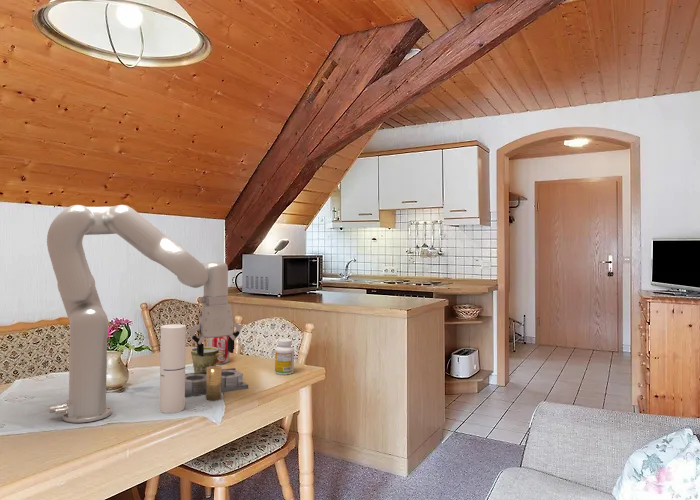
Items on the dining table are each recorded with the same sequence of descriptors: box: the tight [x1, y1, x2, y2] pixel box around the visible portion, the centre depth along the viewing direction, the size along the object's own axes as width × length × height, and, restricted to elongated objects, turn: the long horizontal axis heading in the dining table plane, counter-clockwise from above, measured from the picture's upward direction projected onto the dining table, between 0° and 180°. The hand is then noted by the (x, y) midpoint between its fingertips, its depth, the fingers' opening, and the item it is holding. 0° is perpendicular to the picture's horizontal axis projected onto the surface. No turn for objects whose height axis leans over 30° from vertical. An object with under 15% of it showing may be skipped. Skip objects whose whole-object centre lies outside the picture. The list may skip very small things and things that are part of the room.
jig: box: [185, 367, 249, 398], centre depth 175 cm, size 22×13×4 cm, turn 124°
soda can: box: [211, 336, 230, 365], centre depth 211 cm, size 7×7×12 cm
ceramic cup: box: [190, 346, 225, 373], centre depth 190 cm, size 13×10×10 cm
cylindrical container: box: [158, 323, 187, 414], centre depth 152 cm, size 7×7×25 cm
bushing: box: [205, 365, 222, 402], centre depth 164 cm, size 5×5×10 cm
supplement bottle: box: [274, 338, 295, 376], centre depth 197 cm, size 7×7×13 cm
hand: (216, 353), depth 164 cm, fingers open, 9 cm apart
